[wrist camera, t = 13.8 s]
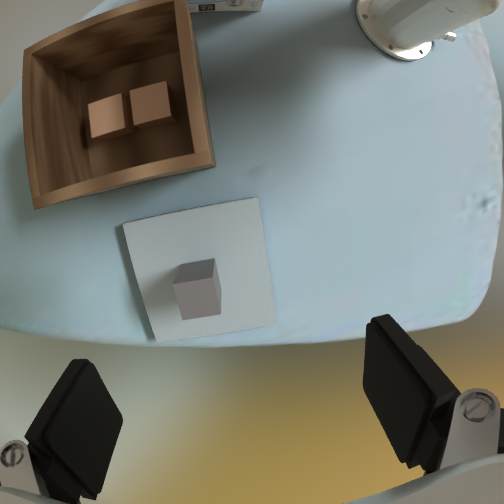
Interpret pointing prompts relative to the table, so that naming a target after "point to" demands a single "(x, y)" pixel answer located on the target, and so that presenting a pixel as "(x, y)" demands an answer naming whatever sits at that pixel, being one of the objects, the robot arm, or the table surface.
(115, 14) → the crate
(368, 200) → the table surface
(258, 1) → the light bulb box
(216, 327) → the lid
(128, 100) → the clay block
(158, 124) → the clay block
